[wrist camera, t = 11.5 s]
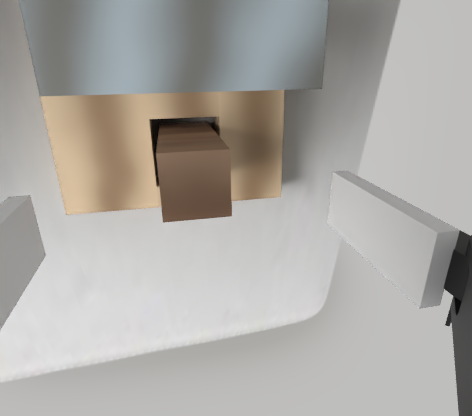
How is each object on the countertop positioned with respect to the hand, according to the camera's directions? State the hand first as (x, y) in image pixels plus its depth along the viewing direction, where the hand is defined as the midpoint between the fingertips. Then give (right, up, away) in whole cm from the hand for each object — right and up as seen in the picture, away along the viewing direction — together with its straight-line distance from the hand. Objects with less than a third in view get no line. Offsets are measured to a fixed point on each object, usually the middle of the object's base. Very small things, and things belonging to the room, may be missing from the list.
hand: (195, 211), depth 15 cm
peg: (-3, +6, +15) cm, 16 cm away
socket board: (-4, +9, +13) cm, 17 cm away
